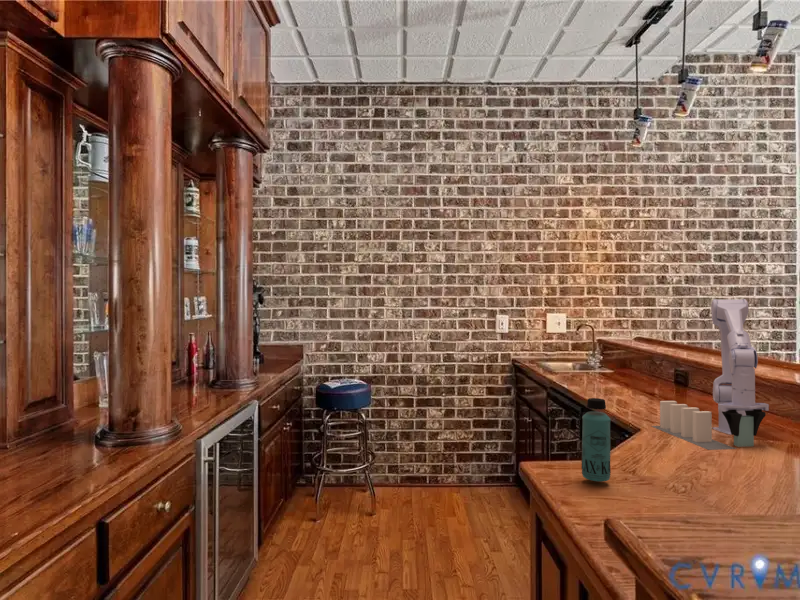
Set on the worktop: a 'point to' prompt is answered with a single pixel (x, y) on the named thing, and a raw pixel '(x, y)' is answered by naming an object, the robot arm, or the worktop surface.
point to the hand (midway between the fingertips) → (743, 435)
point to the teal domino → (745, 432)
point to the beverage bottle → (596, 442)
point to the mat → (707, 445)
